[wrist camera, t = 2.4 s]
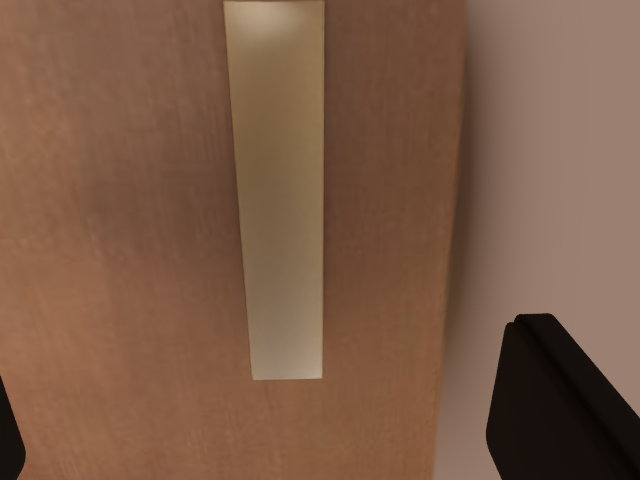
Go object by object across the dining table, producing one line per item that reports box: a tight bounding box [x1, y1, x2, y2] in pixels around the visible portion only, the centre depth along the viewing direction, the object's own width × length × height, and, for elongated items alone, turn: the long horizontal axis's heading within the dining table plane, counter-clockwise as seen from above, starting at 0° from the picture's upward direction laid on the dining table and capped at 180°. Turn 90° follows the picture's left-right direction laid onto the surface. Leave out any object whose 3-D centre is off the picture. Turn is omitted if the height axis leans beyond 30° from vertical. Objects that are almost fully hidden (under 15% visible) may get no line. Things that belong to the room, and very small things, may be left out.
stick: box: [223, 0, 324, 380], centre depth 16 cm, size 2×12×2 cm, turn 0°
